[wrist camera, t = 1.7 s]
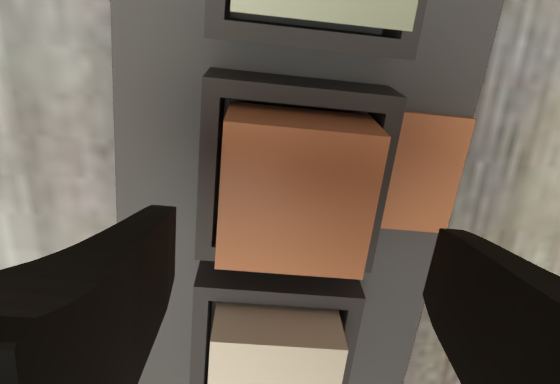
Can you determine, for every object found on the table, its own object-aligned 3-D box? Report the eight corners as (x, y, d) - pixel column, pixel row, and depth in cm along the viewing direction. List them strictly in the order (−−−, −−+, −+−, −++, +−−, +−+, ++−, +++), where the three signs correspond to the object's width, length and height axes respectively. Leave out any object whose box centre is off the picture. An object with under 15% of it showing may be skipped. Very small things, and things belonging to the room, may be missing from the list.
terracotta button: (369, 115, 17) (391, 137, 14) (347, 238, 18) (362, 279, 16) (230, 101, 16) (223, 121, 13) (222, 228, 18) (214, 268, 15)
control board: (531, -207, 16) (624, -280, 12) (385, 388, 26) (407, 461, 22) (121, -268, 15) (67, -372, 11) (132, 374, 25) (106, 447, 21)
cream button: (336, 301, 20) (348, 350, 17) (320, 391, 21) (328, 449, 19) (217, 293, 19) (209, 341, 16) (211, 385, 21) (203, 443, 18)
